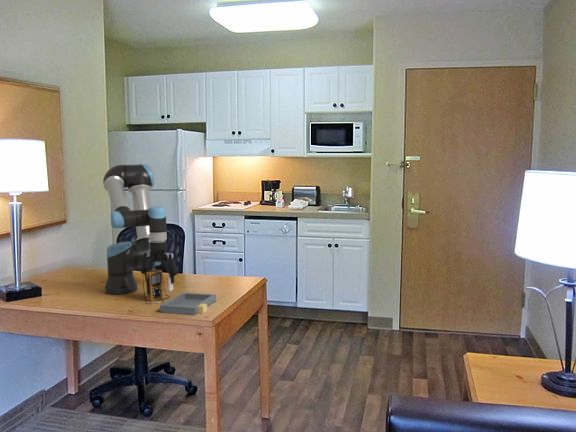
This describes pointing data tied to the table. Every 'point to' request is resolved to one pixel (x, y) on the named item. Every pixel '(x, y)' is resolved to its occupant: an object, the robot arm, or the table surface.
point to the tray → (188, 303)
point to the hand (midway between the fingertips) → (160, 289)
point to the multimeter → (154, 285)
